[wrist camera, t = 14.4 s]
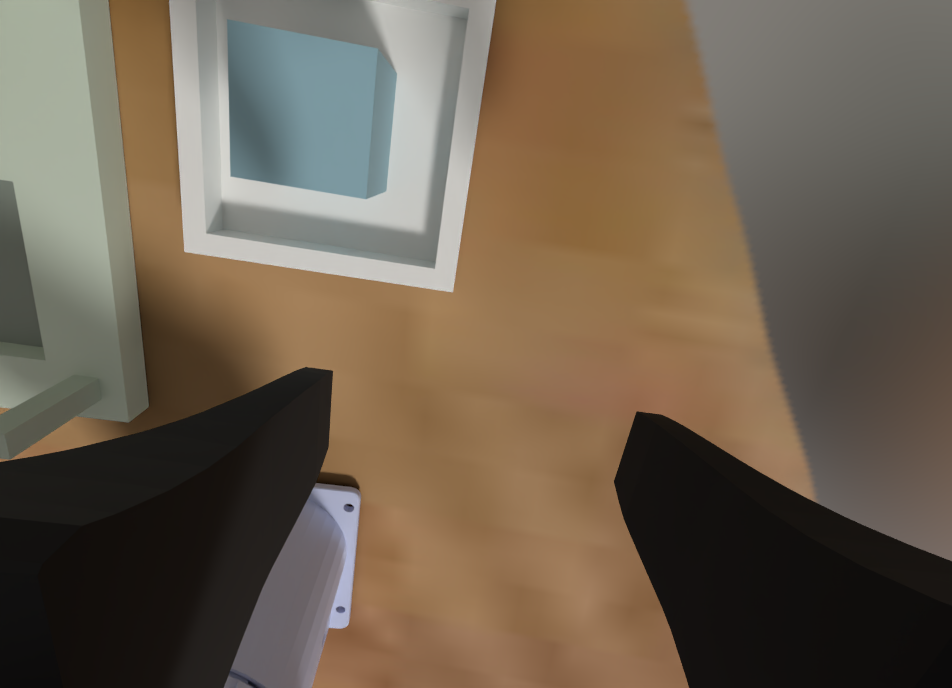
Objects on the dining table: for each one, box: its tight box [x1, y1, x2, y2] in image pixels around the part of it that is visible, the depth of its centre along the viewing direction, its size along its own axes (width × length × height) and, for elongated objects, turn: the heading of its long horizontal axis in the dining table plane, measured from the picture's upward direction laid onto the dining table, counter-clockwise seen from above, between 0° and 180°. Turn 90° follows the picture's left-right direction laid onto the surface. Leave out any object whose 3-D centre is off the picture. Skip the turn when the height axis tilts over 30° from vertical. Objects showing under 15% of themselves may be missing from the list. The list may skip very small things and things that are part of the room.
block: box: [227, 19, 397, 199], centre depth 15 cm, size 4×4×4 cm
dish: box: [169, 0, 496, 292], centre depth 17 cm, size 10×10×2 cm
